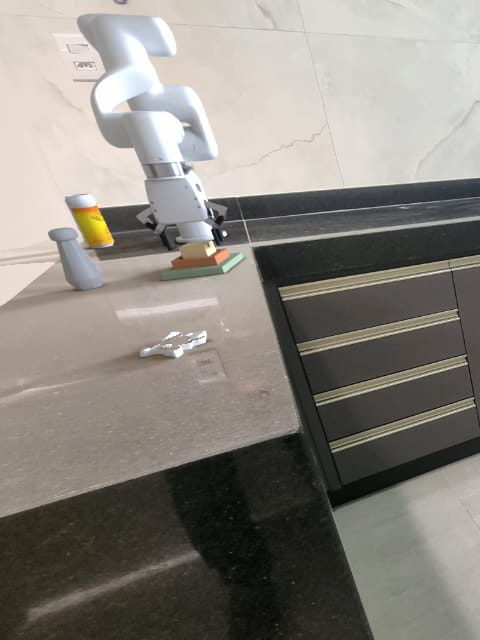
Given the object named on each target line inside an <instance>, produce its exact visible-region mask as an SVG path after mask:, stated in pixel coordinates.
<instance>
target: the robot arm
mask: <svg viewBox="0 0 480 640" xmlns="http://www.w3.org/2000/svg"><path fill="white" fill-rule="evenodd" d="M76 24H77V28H78V30H79V31H80V33H81V35H82V37H84V39H85V40H86V41H87V43H88V44H89V45H90V46H91V47H92V48H93V49H94V50H95V51H96V52H97V53H98V54H99V57H100V59H101V63H102V65H103V68H104V71H105V72H104V73H103V74H102V75H101V76H100V77H99V78H98V79H97V80H96V81H95V83H94V84H93V87H92V89H91V92H90V97H89V101H90V106H91V110H92V112H93V116H94V119H95V121H96V124H97V127H98V130H99V131H100V134H101V136H102V137H103V139H104V140H105V141H106V142H107V144H109V145H110V146H112V147H114V148H118V149H134V152H135V155H136V157H137V159H138V161H139V164H140V166H141V168H142V170H143V173H144V175H145V178H146V179H144V180H143V182H144V188H145V192H146V196H147V200H148V204H149V206H148V207H147V208H146V209H144V210H143V211H140V212H139V213H137V215H136V216H135V218H136V219H137V220H138V221H140V222H141V223H142V224H143V225H144V226H145V227H146V228H147V229H149V230H151V231H153V232H154V233H155V234H156V235H157V234H158V235H159V236H158V237H160V240H161V242H162V245H163V247H165V248H166V249H167V251H168V252H170V251H171V252H172V251H173V250H175V249H177V245H176V243H178V244H187V243H192V242H202V241H211V240H212V241H213V240H214V242H215V245H216V246H218V247H219V246H222V245H224V244H225V240H226V238H225V237H227V235H228V233H227V231H225V230H222V228H221V226H222V225H223V223H224V222H225V221H226V219H227V214H228V207H226V206H223V205H221V204H217V203H214V202H212V201H209V200H208V198H207V195H206V193H205V191H204V188H203V186H202V181H201V180H200V178H199V177H198V175H197V174H196V173H195V172H193V171H195V167H194V165H193V164H188V163H192V162H194V163H195V162H205V161H206V162H207V161H212V160H215V159H217V158H218V156H219V149H218V145H217V142H216V139H215V136H214V134H213V131H212V128H211V126H210V123H209V120H208V118H207V117H208V116H207V114H206V112H205V108H204V107H203V103H202V101H201V99H200V98H199V96H198V95H197V93H196V91H194V89H192V88H191V87H189V86H187V85H182V84H162V83H161V82H160V80H159V78H158V75H157V72H156V70H155V67H154V66H153V64H152V63H151V62H150V59H149V58H150V57H151V58H152V57H154V58H155V57H157V58H158V57H160V58H162V57H163V58H169V57H170V58H173V57H175V56H176V54H177V43H176V41H175V37H174V35H173V32H172V30H171V29H170V27H169V25H168V24H167V23H166V21H165V20H163V19H162V18H161V17H160V16H155V15H136V14H119V13H96V12H95V13H87V14H86V13H85V14H81V15H79V16H78V17H77V19H76ZM123 102H126V103H127V105H128V107H129V109H130V110H124V111H123V110H120V111H113V110H114V109H115V107H117V106H118V105H119V104H121V103H123ZM182 123H185V124H188V125H187V126H185V125H184V126H183V125H182ZM213 211H216V212H217V213H218V216H217V217H216V218H215V217H214V212H213ZM151 215H153V217H154V219H155V221H156V222H157V223H156V222H154V221H152V220H151V219H150V218H149V216H151ZM170 225H176V226H177V229H178V232H179V234H180V236H177V237H176V238H175V240H174V237H173V235H172V233H171V231H169V230H168V228H169V226H170ZM175 241H176V243H175Z"/></svg>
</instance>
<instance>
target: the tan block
mask: <svg viewBox="0 0 480 640" xmlns="http://www.w3.org/2000/svg"><path fill="white" fill-rule="evenodd" d="M216 249H217V248H216V247H215V244H214V241H213V240H209V241H202V242H192V243H184V244H183V245H181V246H179V247H178V250H179V252H180V253H179V254H180V256H181V255H182V257H183V259H190V258H199V257H208V256H212V255H214V254H215V253H217V252H216Z"/></svg>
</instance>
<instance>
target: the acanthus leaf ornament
mask: <svg viewBox="0 0 480 640" xmlns="http://www.w3.org/2000/svg"><path fill="white" fill-rule="evenodd" d="M179 333H181V331H180V332H179V331H170V332H168V333H167V334H165V336H164V337H163V338H162V339H161V340H162V341H163V340H165V339H168V338H171V337H173V336H176V335H178V334H179ZM184 335H185V336H190V337H192V338H190V339H188V341H190V340H191V339H194V338H200V337H202V336H205V337H203V338H201V339H198V340H193V341H192V342H191V343H188V344H182V345H178V346H180V348H179V349H177V350H174V351H172V350H170V351H168V350H165V351H163V350H162V349H161V348H156V347H159V346H161V345H160V344H158V343H157V344H158V345H157V344H155V345H153V346H152V347H146V348H147V349H144V350H142V349H143V348H141V349H140V350H139V357H140V358H146V357H150V356H154V355H163V356H164V357H171V358H174V359H177V358H179V357H181V356H182V355H183V354H184V351H187V350H191V349H192V348H193V347H196V346H199V345H203V344H205V343H206V342H207V332H206V330H201V331H196V332H194V333H193V332H189V333H186V334H184ZM181 336H183V334H182V335H181ZM181 336H180V337H181ZM171 346H172V344H165V345H162V346H161V347H162V348H163V349H164V348H165V347H167V348H170V347H171Z"/></svg>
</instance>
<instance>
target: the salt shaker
mask: <svg viewBox="0 0 480 640" xmlns="http://www.w3.org/2000/svg"><path fill="white" fill-rule="evenodd" d="M47 235H48V238H49V239H50V241H52V242H56V247H57V251H58V254H59V258H60V262H61V266H62V270H63V273H64V277H65V280H66V282H67V283H68V284H69V285H71V286H72V287H73V288H74V289H75V290H76V291H87V290H93V289H97V288H100V287H102V286H103V279H104V278H103V277H104V275H103V273H102V271H101V270H100V268H99V267H98V266H97V265H96V263H95V262H94V260H92V258H91V257H90V256H89V254H87V252H86V250H84V248H83V247H82V245H81V244H80V243H79V241H78V240H77V239H78V238H79V233H78V231H76V229H75V228H73V227H67V226H66V227H58V228H53V229H50V230H49V231H48V232H47Z"/></svg>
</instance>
